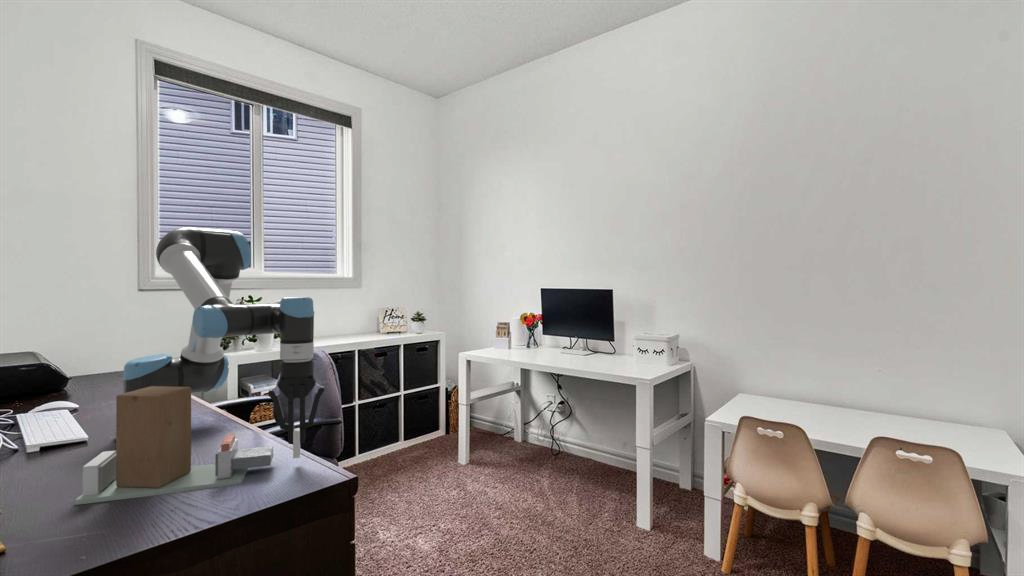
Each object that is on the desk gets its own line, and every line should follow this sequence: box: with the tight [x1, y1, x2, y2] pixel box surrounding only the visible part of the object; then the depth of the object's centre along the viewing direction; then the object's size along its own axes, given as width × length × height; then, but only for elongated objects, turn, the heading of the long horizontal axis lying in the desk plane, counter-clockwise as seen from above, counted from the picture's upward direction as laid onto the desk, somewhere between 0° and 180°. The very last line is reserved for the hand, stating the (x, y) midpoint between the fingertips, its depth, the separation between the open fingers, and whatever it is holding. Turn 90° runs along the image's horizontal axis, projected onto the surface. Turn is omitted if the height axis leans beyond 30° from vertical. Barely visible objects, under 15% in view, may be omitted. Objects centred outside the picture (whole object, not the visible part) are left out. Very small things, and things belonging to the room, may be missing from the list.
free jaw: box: [214, 433, 274, 479], centre depth 119 cm, size 10×11×7 cm
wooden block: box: [115, 386, 192, 488], centre depth 112 cm, size 10×10×20 cm
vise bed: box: [74, 450, 249, 506], centre depth 113 cm, size 14×30×7 cm, turn 111°
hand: (296, 456), depth 123 cm, fingers closed
